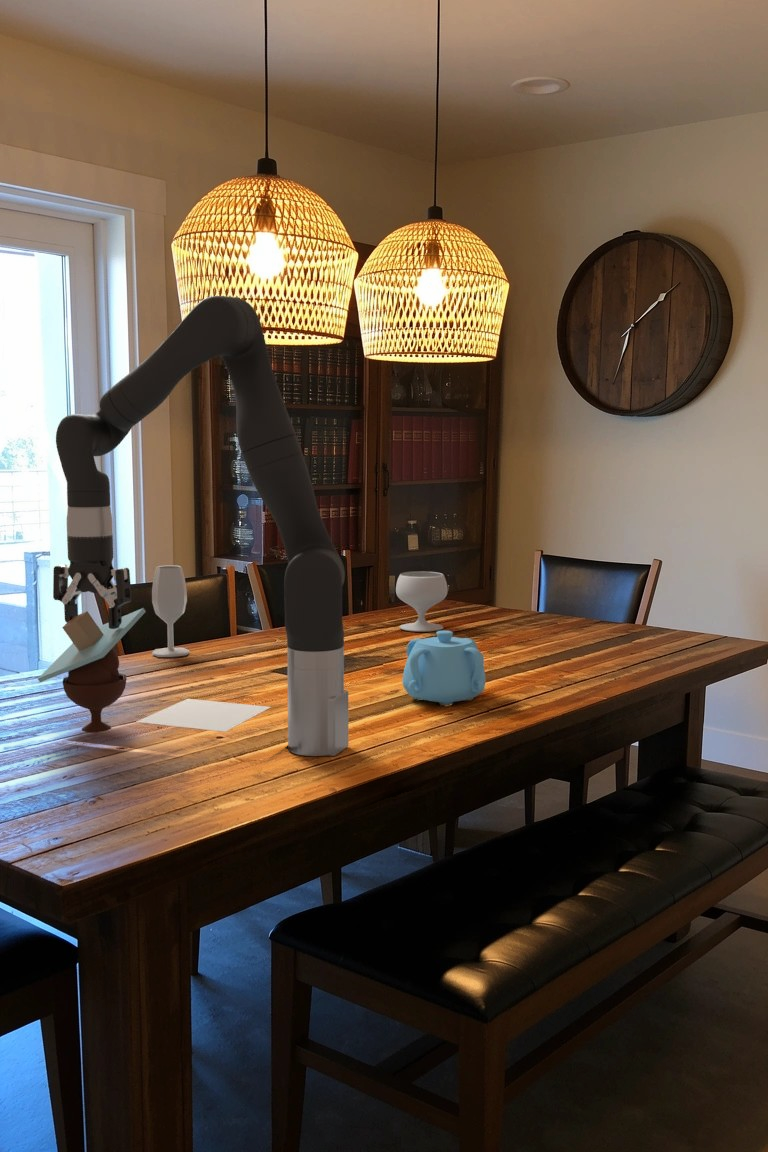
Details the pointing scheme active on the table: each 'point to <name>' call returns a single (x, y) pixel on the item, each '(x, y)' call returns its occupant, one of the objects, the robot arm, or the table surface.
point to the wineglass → (169, 603)
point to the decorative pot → (444, 669)
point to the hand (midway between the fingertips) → (93, 626)
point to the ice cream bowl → (96, 688)
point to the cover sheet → (92, 651)
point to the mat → (204, 715)
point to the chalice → (421, 596)
